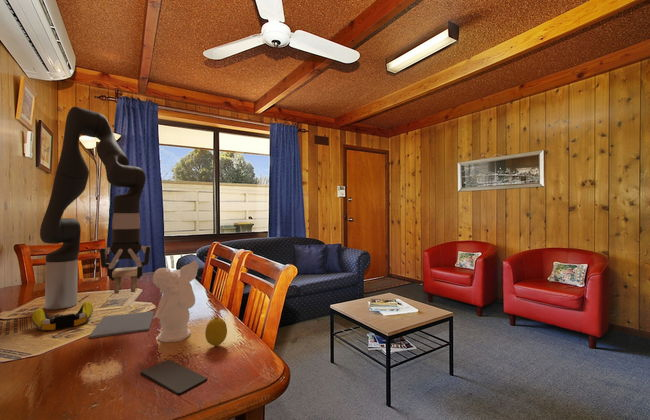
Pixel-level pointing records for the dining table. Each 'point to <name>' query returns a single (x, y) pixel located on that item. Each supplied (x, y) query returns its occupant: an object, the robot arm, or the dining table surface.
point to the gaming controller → (62, 318)
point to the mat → (123, 324)
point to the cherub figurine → (175, 301)
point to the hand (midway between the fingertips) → (126, 279)
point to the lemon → (216, 331)
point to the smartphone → (173, 377)
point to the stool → (124, 272)
